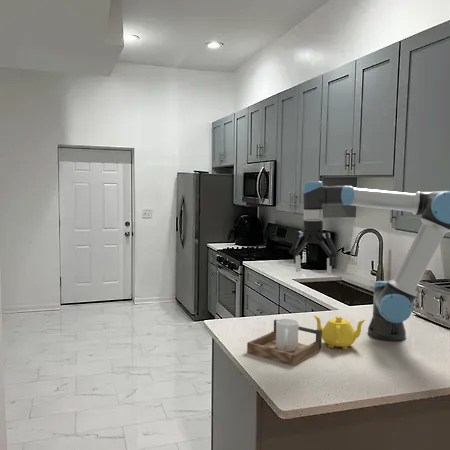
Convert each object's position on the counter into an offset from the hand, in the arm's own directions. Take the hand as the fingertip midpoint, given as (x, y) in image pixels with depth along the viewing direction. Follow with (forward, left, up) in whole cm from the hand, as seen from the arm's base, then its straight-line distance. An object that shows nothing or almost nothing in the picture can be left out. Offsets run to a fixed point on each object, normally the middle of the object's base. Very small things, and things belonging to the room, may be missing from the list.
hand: (313, 272), depth 185 cm
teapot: (-12, 0, -28) cm, 30 cm away
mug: (0, +19, -27) cm, 33 cm away
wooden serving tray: (+1, +19, -28) cm, 34 cm away
